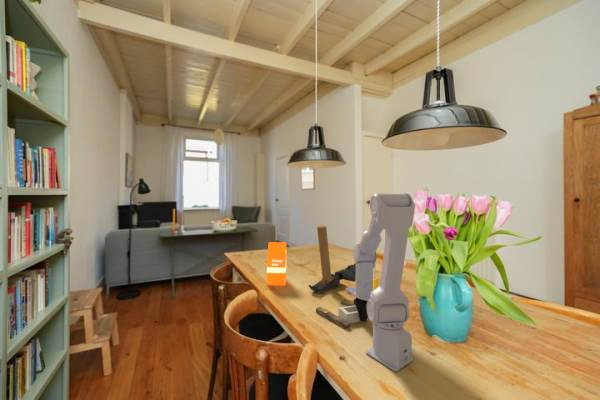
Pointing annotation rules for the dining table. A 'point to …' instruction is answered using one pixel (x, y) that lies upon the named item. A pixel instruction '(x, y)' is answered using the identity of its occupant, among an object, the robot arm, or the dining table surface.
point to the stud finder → (349, 314)
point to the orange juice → (276, 263)
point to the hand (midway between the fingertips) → (363, 321)
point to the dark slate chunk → (349, 272)
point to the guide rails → (333, 317)
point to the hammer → (325, 265)
